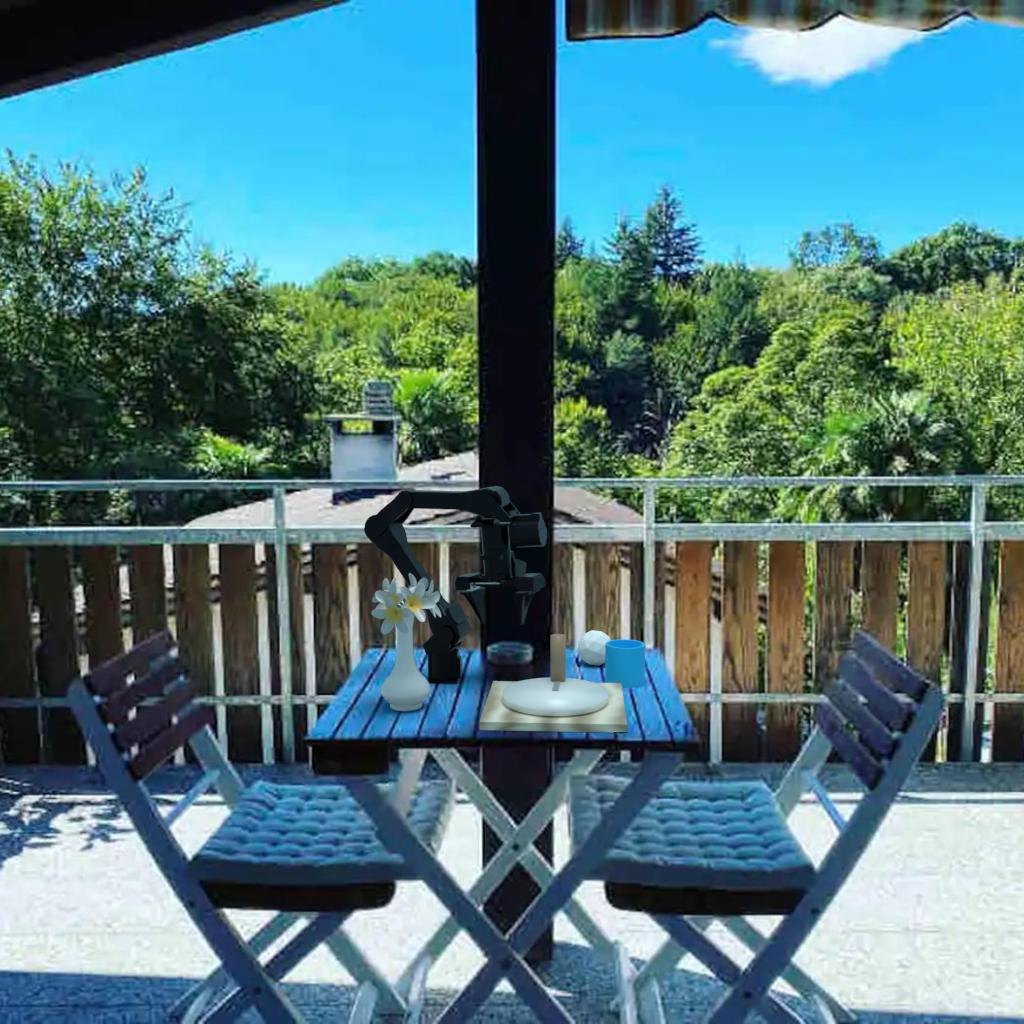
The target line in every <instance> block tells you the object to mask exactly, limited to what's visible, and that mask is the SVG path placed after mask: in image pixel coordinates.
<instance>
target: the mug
mask: <svg viewBox="0 0 1024 1024" xmlns="http://www.w3.org/2000/svg"><path fill="white" fill-rule="evenodd" d="M610 640H611V639H610ZM604 666H605V667H604V673H605V675H604V678H605V679H604V680H605V681H604V683H621V684H622V689H623V688H624V689H628V688H629V689H632V688H638V687H641V686H644V685H645V683H646V678H645V677H646V676H645V675H646V674H645V673H646V672H645V671H646V670H645V669H646V644H645V642H643V641H641V640H636V639H628V638H627V639H626V638H625V639H624V638H623V639H612V640H611V641H608V642H606V643H605V663H604Z"/></svg>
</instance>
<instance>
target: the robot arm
mask: <svg viewBox="0 0 1024 1024" xmlns="http://www.w3.org/2000/svg"><path fill="white" fill-rule="evenodd" d="M415 509H416V510H417V509H420V510H422V509H423V510H449V511H450V510H454V511H455V510H457V511H464V512H466V513H470V514H471V515H472V514H473V515H477V516H476V518H475V520H474V521H472V523H470V526H469V527H470V528H471V529H473V528H477V529H478V528H480V536H481V537H480V538H481V549H482V554H480V555H479V561H483V574H482V572H481V573H480V572H479V573H478V572H477V573H476V572H475V573H473V572H470V573H467V572H466V573H464V574H460V575H459V576H456V577H455V578H454V581H453V588H454V591H457V592H458V591H459V594H460V596H461V595H463V596H464V598H465V599H466V600H467V601H468V603H469V605H470V606H471V608H472V609H473V611H474V613H475V615H476V617H477V618H478V620H479V622H480V624H484V623H486V610H485V607H486V606H485V599H484V597H485V596H484V595H485V592H486V587H514V588H515V589H516V590H517V592H514V599H515V606H516V611H517V618H518V622H519V625H524V624H525V621H526V617H527V613H528V610H529V606H530V602H531V601H532V598H533V596H534V595H535V594H536V593H538V592H540V590H541V589H543V588H545V587H546V579H545V577H544V575H543V574H542V573H541V572H537V573H534V572H533V573H531V572H529V573H528V572H527V570H526V569H527V562H525V561H524V560H521V559H519V558H516V555H515V551H514V550H511V545H512V544H513V545H514V546H515V547H516V548H530V547H531V548H534V547H545V546H546V544H547V539H548V530H547V526H546V524H545V521H544V519H543V514H542V512H533V513H525V514H521V512H520V511H519V510H518V508H517V507H516V506H515V505H514V504H513V503H512V501H511V500H510V495H509V494H508V491H507V490H506V489H505V488H503V487H502V486H500V485H499V486H497V485H495V486H488V487H483V488H477V489H476V488H475V489H470V490H461V491H460V490H431V489H429V490H428V489H427V490H425V489H424V490H423V489H422V490H420V489H419V490H418V489H414V488H409V489H404V490H401V491H399V492H398V494H397V495H396V496H395V497H393V499H392V500H391V501H390V502H389V503H388V504H386V505H385V506H384V507H383V508H381V509H380V510H379V512H377V513H376V514H373V515H370V516H369V517H368V518H367V519H366V521H365V523H364V527H363V533H364V534H365V536H366V538H367V539H369V541H370V542H371V543H372V544H373V545H374V546H375V547H376V548H377V549H378V550H379V551H381V552H382V553H384V554H385V555H387V556H388V557H389V558H390V559H391V562H392V563H393V564H394V566H395V567H396V569H397V570H398V572H399V573H400V575H401V576H402V578H403V579H404V582H406V584H407V585H408V587H409V586H411V582H410V579H409V573H411V574H412V575H413V576H414V577H415V579H416V581H417V584H418V582H419V581H420V580H421V579H422V578H426V579H427V580H428V587H427V589H426V590H425V592H426V591H428V590H429V587H430V584H431V580H432V578H431V577H430V575H429V574H428V573H427V571H426V570H425V568H424V566H423V565H422V563H421V562H420V560H419V559H418V557H417V556H416V554H415V553H414V551H413V550H412V548H411V547H410V545H409V543H408V542H409V541H408V537H407V531H406V529H405V527H404V525H403V524H404V523H405V522H406V521H407V520H408V519H409V517H410V516H411V515H412V513H413V511H414V510H415ZM485 517H489V518H485ZM490 517H492V518H490ZM417 584H416V585H417ZM436 591H438V592H439V593H440V599H439V601H438V602H437V603H436V605H437V606H438V608H439V610H440V612H441V618H440V617H439V616H438V615H437V614H436V613H435V614H436V618H435V617H434V615H433V614H432V612H431V611H430V610H429V609H424V612H425V614H426V616H427V622H428V627H429V629H430V632H431V633H432V635H431V636H430V637H429V638H428V639H427V640H426V641H425V642H424V643H423V644H422V647H423V650H424V653H425V655H427V678H426V679H427V680H428V682H429V683H433V684H434V683H436V684H437V683H440V684H442V683H443V684H445V683H447V684H452V683H453V684H457V683H458V682H459V679H461V678H462V675H463V657H462V656H461V655H460V647H462V643H463V640H466V638H467V637H468V636H469V634H470V631H471V625H470V622H469V620H468V619H470V617H469V615H467V614H466V613H465V612H464V610H463V608H462V605H461V604H460V603H459V602H456V603H454V604H451V603H449V602H448V601H447V600H446V599H445V597H444V596H443V594H441V592H440V591H439V589H438V587H437V586H436V584H435V583H434V589H433V592H432V593H434V592H436Z"/></svg>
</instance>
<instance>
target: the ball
mask: <svg viewBox="0 0 1024 1024" xmlns="http://www.w3.org/2000/svg"><path fill="white" fill-rule="evenodd" d="M608 641H611V638H610V636H609V635H607V634H606V633H605V632H603V631H600V630H594V629H591V630H590V631H588V632H585V633H584V634H582V637H580V639H579V640H578V644H577V652H578V654H579V656H580V659H581V660H582V661H584V662H585V663H586V664H588V665H592V666H598V667H599V666H601V665H603V664H605V643H606V642H608Z"/></svg>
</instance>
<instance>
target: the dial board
mask: <svg viewBox="0 0 1024 1024" xmlns="http://www.w3.org/2000/svg"><path fill="white" fill-rule="evenodd" d="M518 681H519V680H518ZM518 681H516V680H515V681H514V680H513V681H510V680H509V681H508V680H506V681H505V680H499V681H498V680H493V681H492V684H491V686H490V689H489V691H488V696H487V698H486V701H485V704H484V707H483V710H482V712H481V713H482V714H481V716H480V720H479V723H478V724H479V727H478V728H479V731H504V732H505V731H506V732H507V731H508V732H509V731H512V732H515V731H516V732H557V733H558V732H561V733H565V732H566V733H569V732H570V733H613V734H615V733H614V732H627V733H628V721H627V713H626V706H625V699H624V692H623V688H622V684H621V683H606V682H595V683H596V684H599V685H601V686H603V687H604V688H606V689H607V691H608V703H607V705H606V706H605V707H603V708H601V709H599V710H597V711H594V712H590V713H586V714H580V715H573V716H541V715H533V714H527V713H522V712H518V711H515V710H513V709H510V708H509V707H507V706H506V705H504V703H503V701H502V691H503V689H504V688H505V687H506V686H508V685H510V684H512V683H515V682H518Z"/></svg>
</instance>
